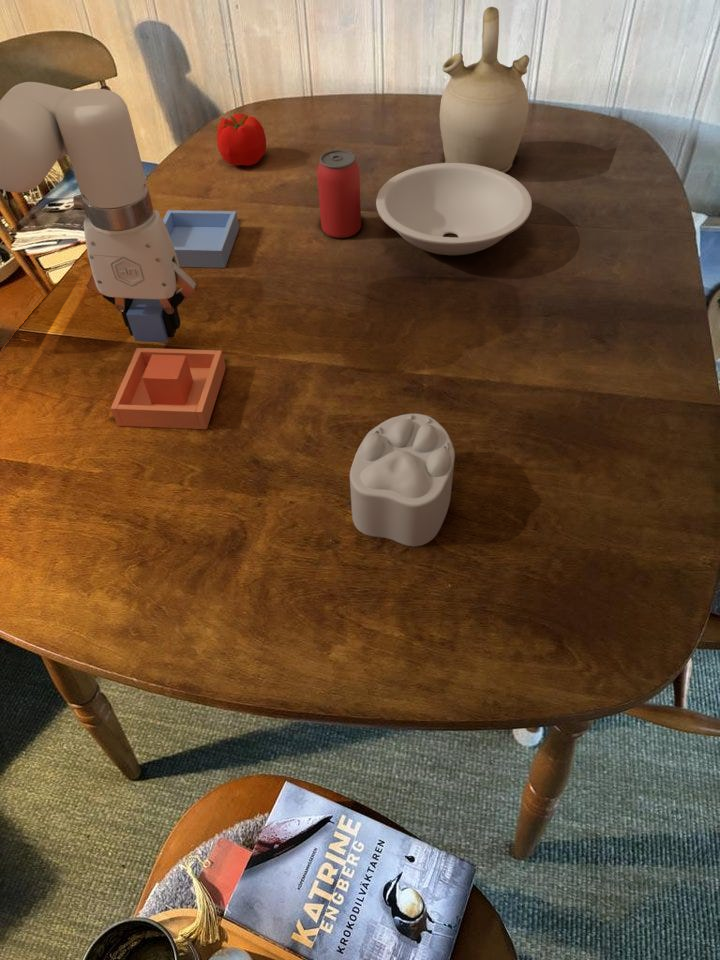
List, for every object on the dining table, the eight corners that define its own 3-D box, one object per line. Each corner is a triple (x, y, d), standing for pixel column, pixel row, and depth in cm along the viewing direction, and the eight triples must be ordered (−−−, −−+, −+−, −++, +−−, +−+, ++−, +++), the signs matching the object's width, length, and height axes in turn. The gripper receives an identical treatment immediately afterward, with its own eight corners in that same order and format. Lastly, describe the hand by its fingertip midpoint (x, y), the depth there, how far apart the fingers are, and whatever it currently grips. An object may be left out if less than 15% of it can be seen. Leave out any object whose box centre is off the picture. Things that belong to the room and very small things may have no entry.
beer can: (350, 215, 122) (347, 144, 113) (368, 233, 118) (366, 161, 109) (315, 225, 120) (309, 154, 111) (331, 244, 116) (326, 172, 107)
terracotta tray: (117, 425, 91) (110, 408, 89) (142, 365, 98) (136, 347, 96) (207, 429, 90) (202, 412, 88) (225, 368, 97) (221, 350, 95)
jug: (425, 176, 129) (431, 19, 110) (451, 139, 138) (461, -13, 119) (508, 190, 125) (530, 30, 106) (529, 150, 134) (553, -4, 115)
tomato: (242, 145, 139) (235, 105, 134) (277, 157, 136) (272, 116, 130) (209, 165, 135) (200, 124, 129) (244, 177, 131) (237, 136, 125)
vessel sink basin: (538, 211, 121) (544, 173, 116) (509, 293, 106) (515, 253, 101) (401, 191, 126) (401, 154, 121) (356, 266, 112) (354, 228, 107)
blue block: (134, 341, 98) (126, 314, 94) (144, 320, 101) (136, 293, 97) (167, 342, 97) (159, 315, 94) (175, 322, 100) (168, 295, 97)
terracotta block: (151, 404, 92) (142, 377, 89) (160, 380, 95) (151, 354, 92) (185, 405, 92) (177, 379, 89) (193, 381, 95) (186, 355, 92)
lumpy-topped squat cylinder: (342, 528, 79) (338, 478, 73) (379, 446, 87) (378, 394, 81) (433, 552, 77) (437, 502, 70) (462, 465, 85) (468, 413, 78)
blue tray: (153, 266, 114) (148, 249, 111) (171, 226, 121) (167, 209, 119) (225, 268, 113) (221, 250, 110) (239, 228, 120) (236, 210, 118)
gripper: (38, 221, 83) (86, 345, 97) (181, 226, 82) (209, 351, 96) (61, 188, 88) (103, 311, 102) (196, 193, 87) (221, 316, 101)
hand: (154, 329), depth 99 cm, fingers closed on blue block, 4 cm apart
